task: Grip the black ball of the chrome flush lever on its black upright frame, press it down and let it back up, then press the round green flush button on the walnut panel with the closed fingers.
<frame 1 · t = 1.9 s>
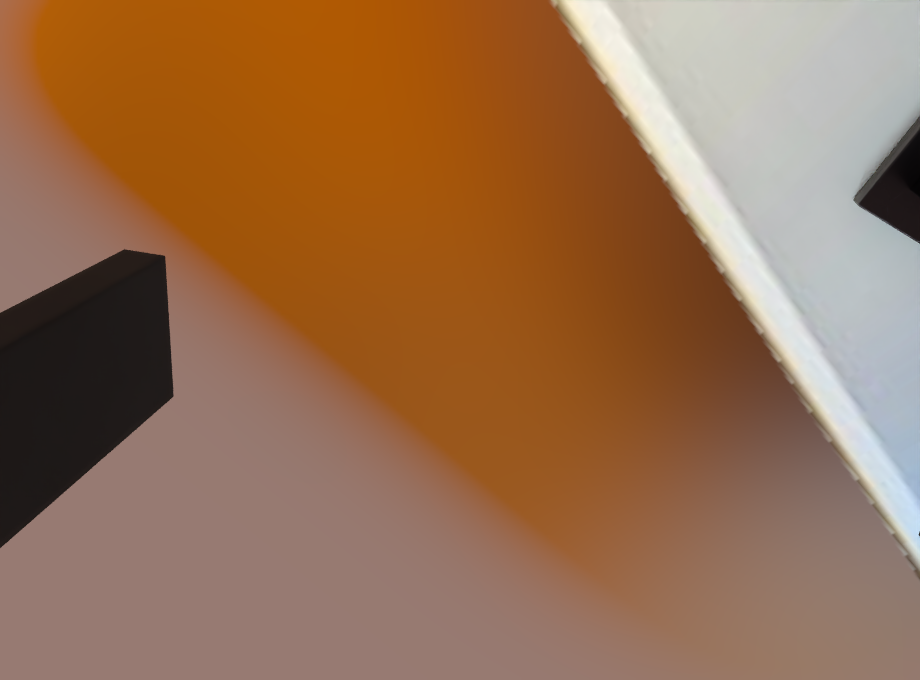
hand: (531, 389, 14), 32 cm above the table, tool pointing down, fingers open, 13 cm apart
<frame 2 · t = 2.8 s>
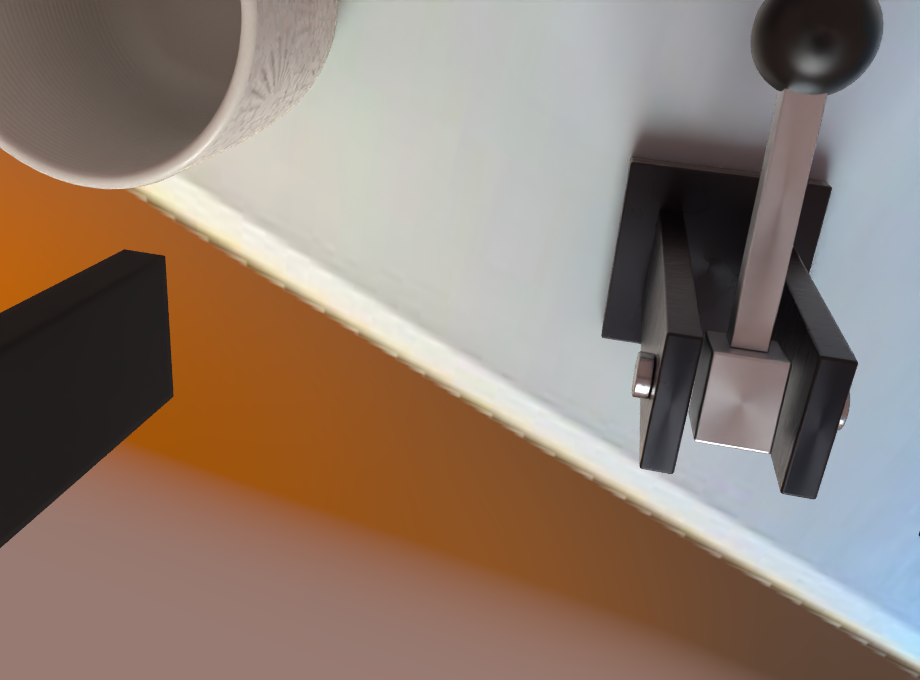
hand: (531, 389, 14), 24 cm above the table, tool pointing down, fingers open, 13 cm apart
flush lever: (774, 220, 23), point 12 cm above the table, hinge at -7.4°
black upright frame: (707, 259, 36), on the table
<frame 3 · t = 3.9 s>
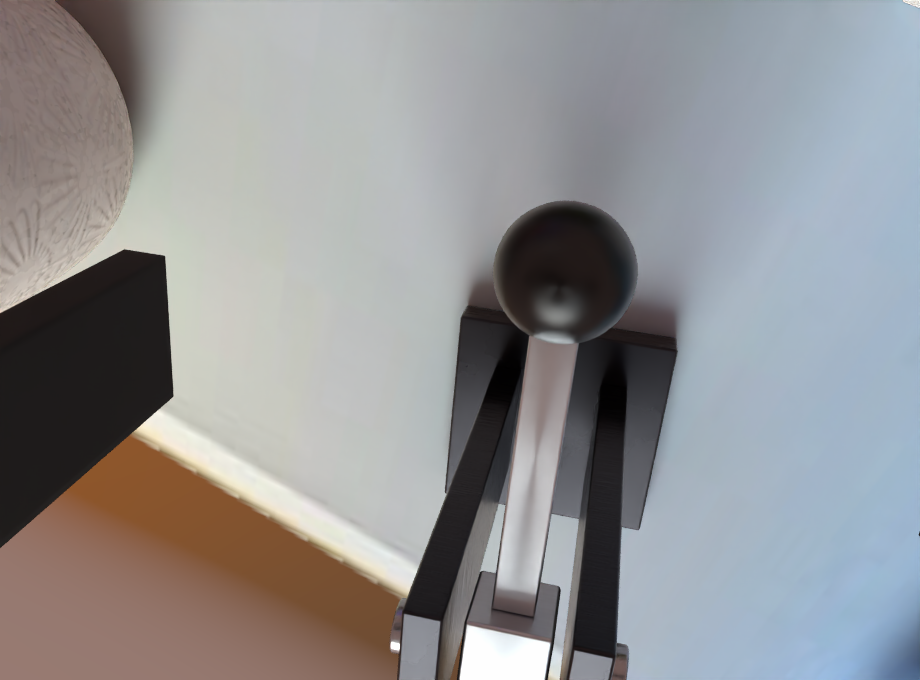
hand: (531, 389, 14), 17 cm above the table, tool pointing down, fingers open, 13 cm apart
planter: (26, 118, 33), on the table, touching radio
flush lever: (534, 470, 20), point 12 cm above the table, hinge at -7.4°
black upright frame: (556, 412, 33), on the table
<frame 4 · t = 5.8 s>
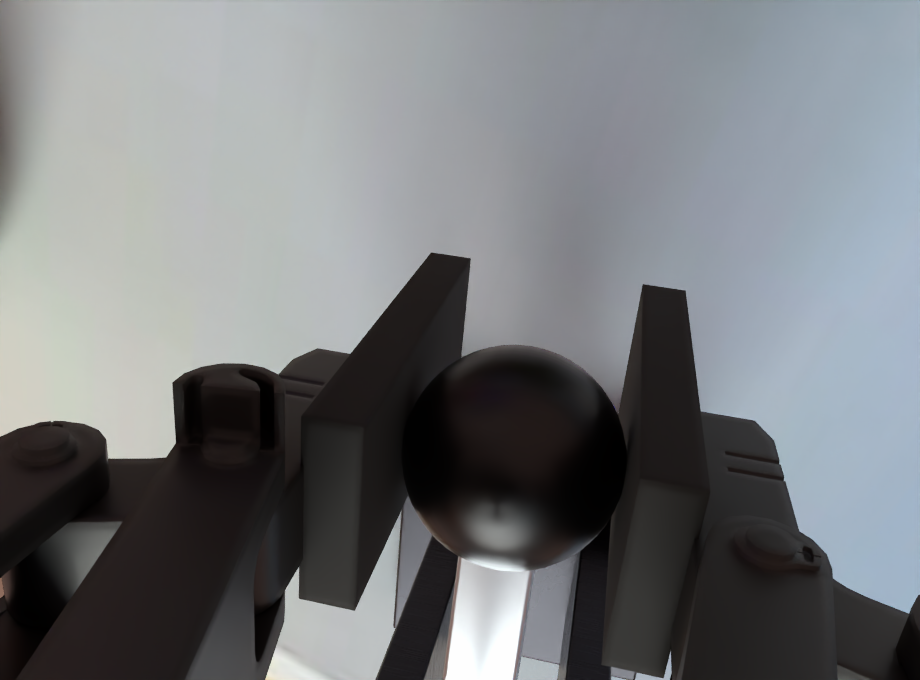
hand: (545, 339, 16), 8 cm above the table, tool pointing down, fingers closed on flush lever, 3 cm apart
black upright frame: (530, 533, 27), on the table
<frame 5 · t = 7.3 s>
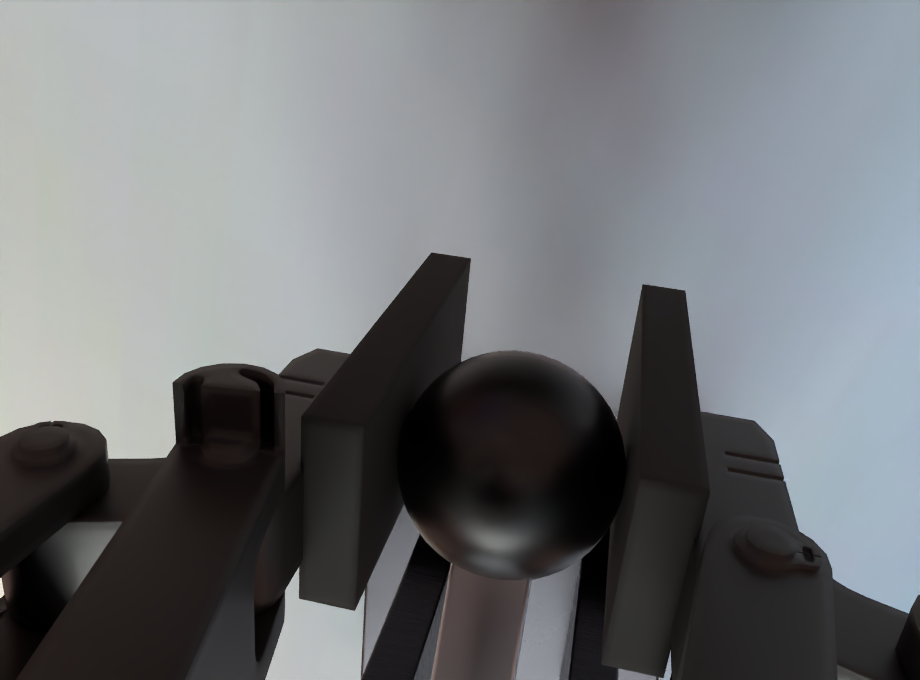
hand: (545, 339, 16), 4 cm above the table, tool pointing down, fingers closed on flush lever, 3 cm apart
black upright frame: (519, 576, 23), on the table
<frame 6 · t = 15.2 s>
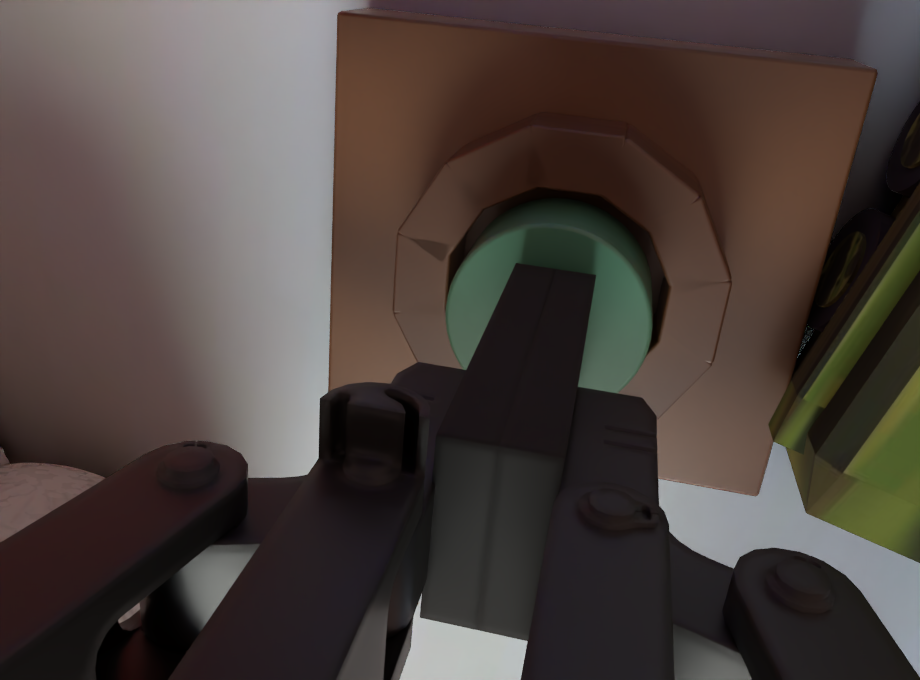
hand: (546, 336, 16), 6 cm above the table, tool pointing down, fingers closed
planter: (104, 576, 29), on the table, touching radio
button panel: (569, 243, 21), on the table
flush button: (551, 305, 17), point 4 cm above the table, slide at -0.1 cm, touching gripper
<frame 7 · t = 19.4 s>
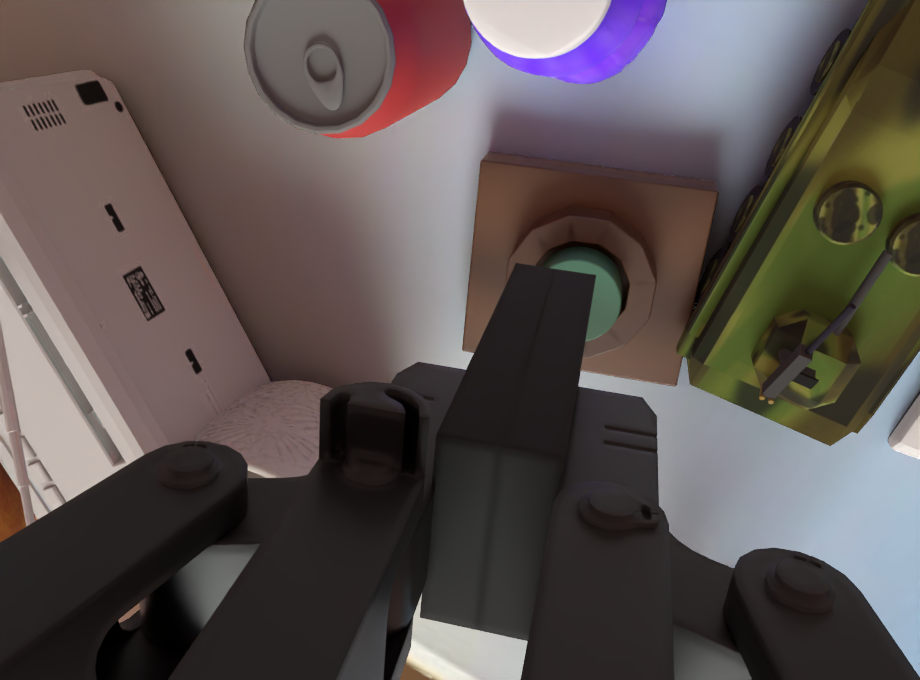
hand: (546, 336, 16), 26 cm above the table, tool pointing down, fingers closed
radio: (158, 256, 47), on the table, touching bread, planter
planter: (316, 450, 50), on the table, touching radio
toy vehicle: (855, 197, 39), on the table
button panel: (584, 263, 42), on the table
flush button: (577, 294, 38), point 5 cm above the table, slide at 0.1 cm
beer can: (407, 34, 40), on the table
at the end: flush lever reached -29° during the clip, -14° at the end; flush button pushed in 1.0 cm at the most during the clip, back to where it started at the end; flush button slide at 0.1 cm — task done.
